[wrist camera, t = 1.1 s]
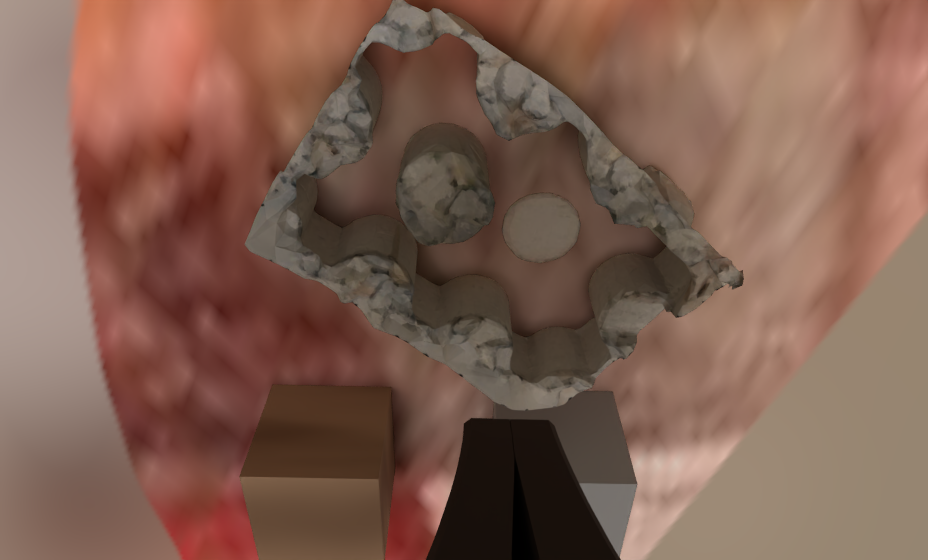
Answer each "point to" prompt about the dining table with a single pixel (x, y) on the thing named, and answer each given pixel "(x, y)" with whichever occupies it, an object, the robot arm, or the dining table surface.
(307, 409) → the walnut block
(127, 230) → the dining table surface
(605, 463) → the slate-grey block
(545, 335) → the grey piece
